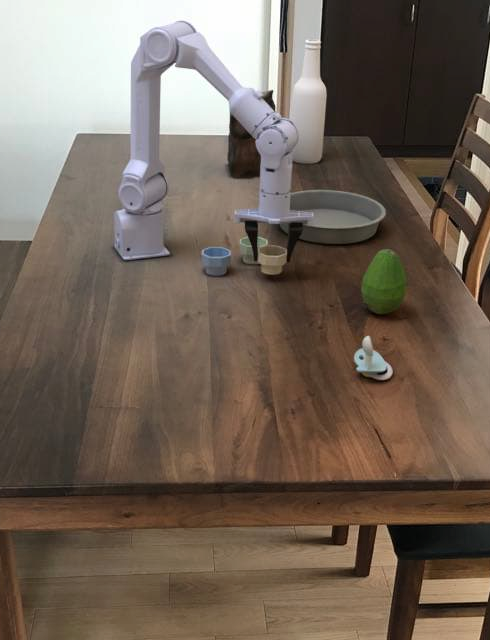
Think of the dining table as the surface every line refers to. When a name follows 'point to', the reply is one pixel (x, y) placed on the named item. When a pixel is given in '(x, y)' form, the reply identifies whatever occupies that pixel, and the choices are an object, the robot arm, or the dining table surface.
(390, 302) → the avocado
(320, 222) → the cake pan
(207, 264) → the blue bowl
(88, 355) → the dining table surface
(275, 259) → the ivory bowl
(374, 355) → the pacifier
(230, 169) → the owl
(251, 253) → the celadon bowl
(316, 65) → the alcohol
